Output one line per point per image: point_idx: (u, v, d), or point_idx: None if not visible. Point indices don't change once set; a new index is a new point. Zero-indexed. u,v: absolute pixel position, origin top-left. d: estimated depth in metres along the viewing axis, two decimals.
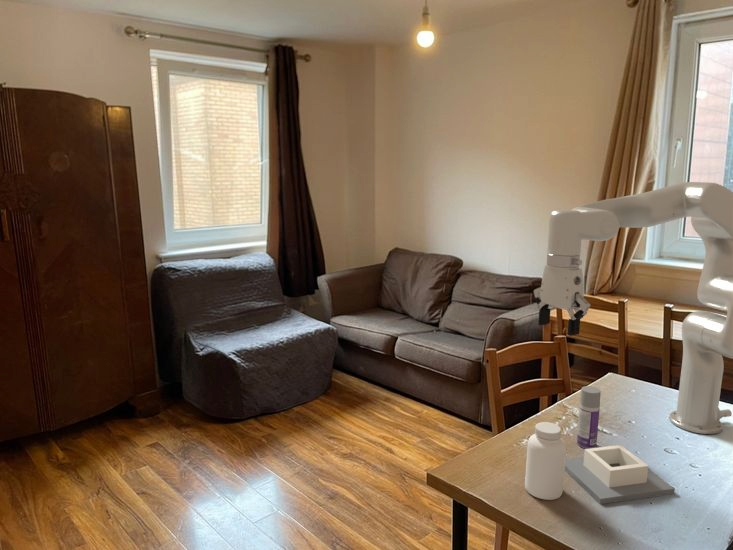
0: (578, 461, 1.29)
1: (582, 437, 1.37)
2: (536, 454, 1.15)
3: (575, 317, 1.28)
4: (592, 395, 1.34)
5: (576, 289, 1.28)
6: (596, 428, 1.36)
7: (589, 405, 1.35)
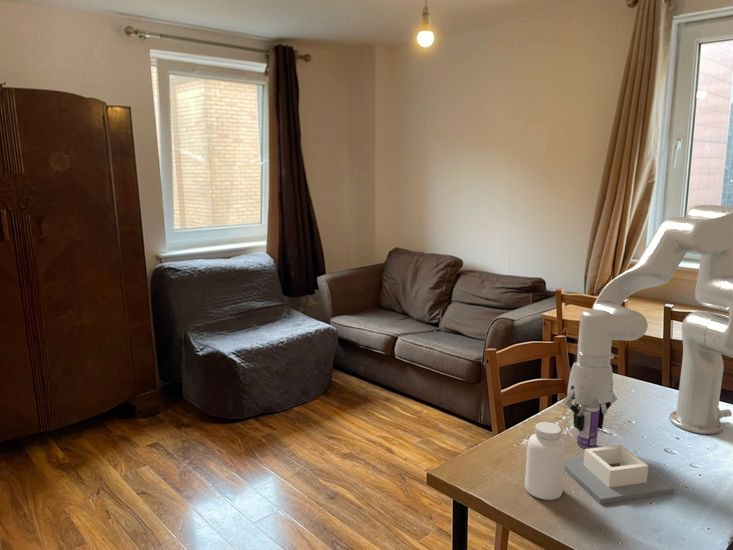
0: (578, 461, 1.29)
1: (582, 437, 1.37)
2: (536, 454, 1.15)
3: None
4: None
5: None
6: (596, 428, 1.36)
7: (589, 405, 1.35)
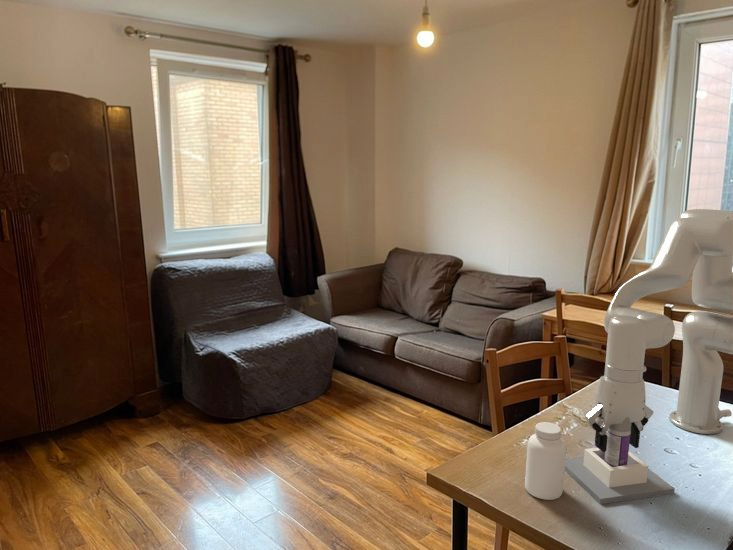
0: (578, 461, 1.29)
1: (611, 464, 1.22)
2: (536, 454, 1.15)
3: None
4: None
5: None
6: (627, 454, 1.21)
7: (619, 429, 1.19)
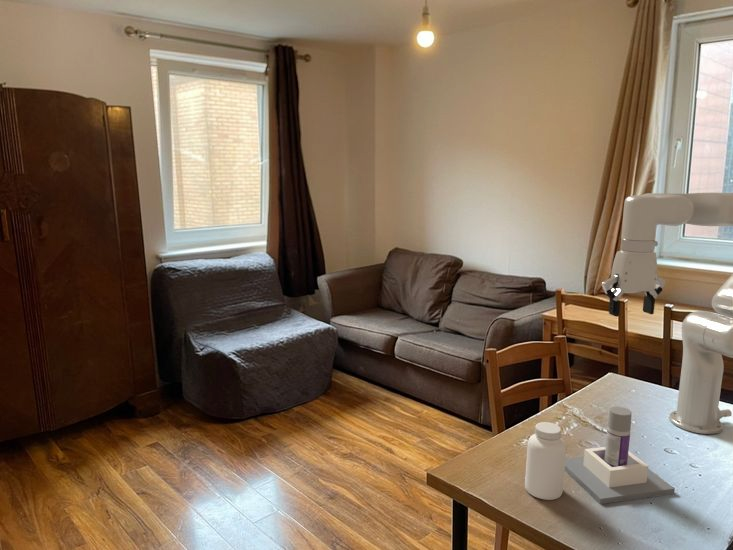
0: (578, 461, 1.29)
1: (611, 464, 1.22)
2: (536, 454, 1.15)
3: None
4: (623, 418, 1.19)
5: None
6: (627, 454, 1.21)
7: (619, 429, 1.20)
